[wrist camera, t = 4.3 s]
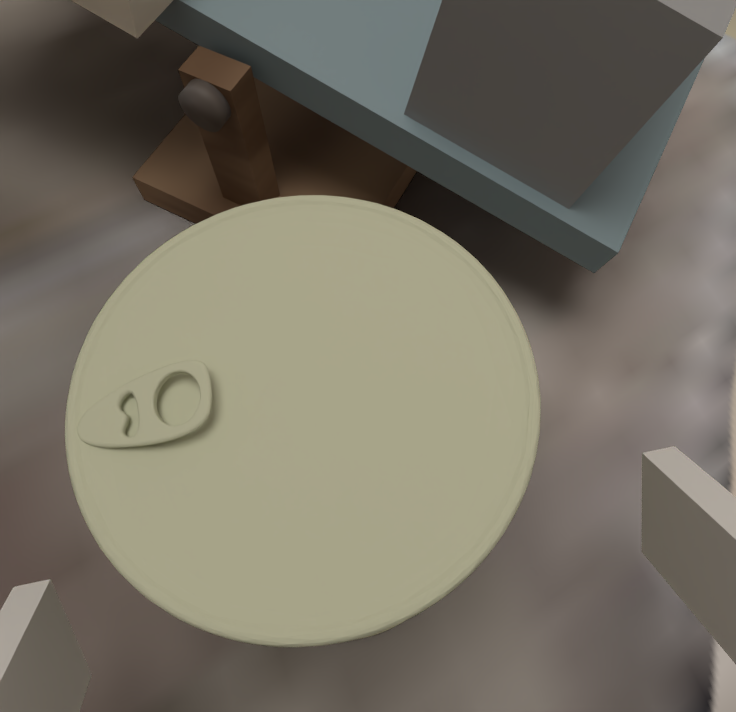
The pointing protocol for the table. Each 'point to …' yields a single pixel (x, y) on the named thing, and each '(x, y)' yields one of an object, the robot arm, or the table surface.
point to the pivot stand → (257, 148)
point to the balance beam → (480, 91)
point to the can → (302, 421)
